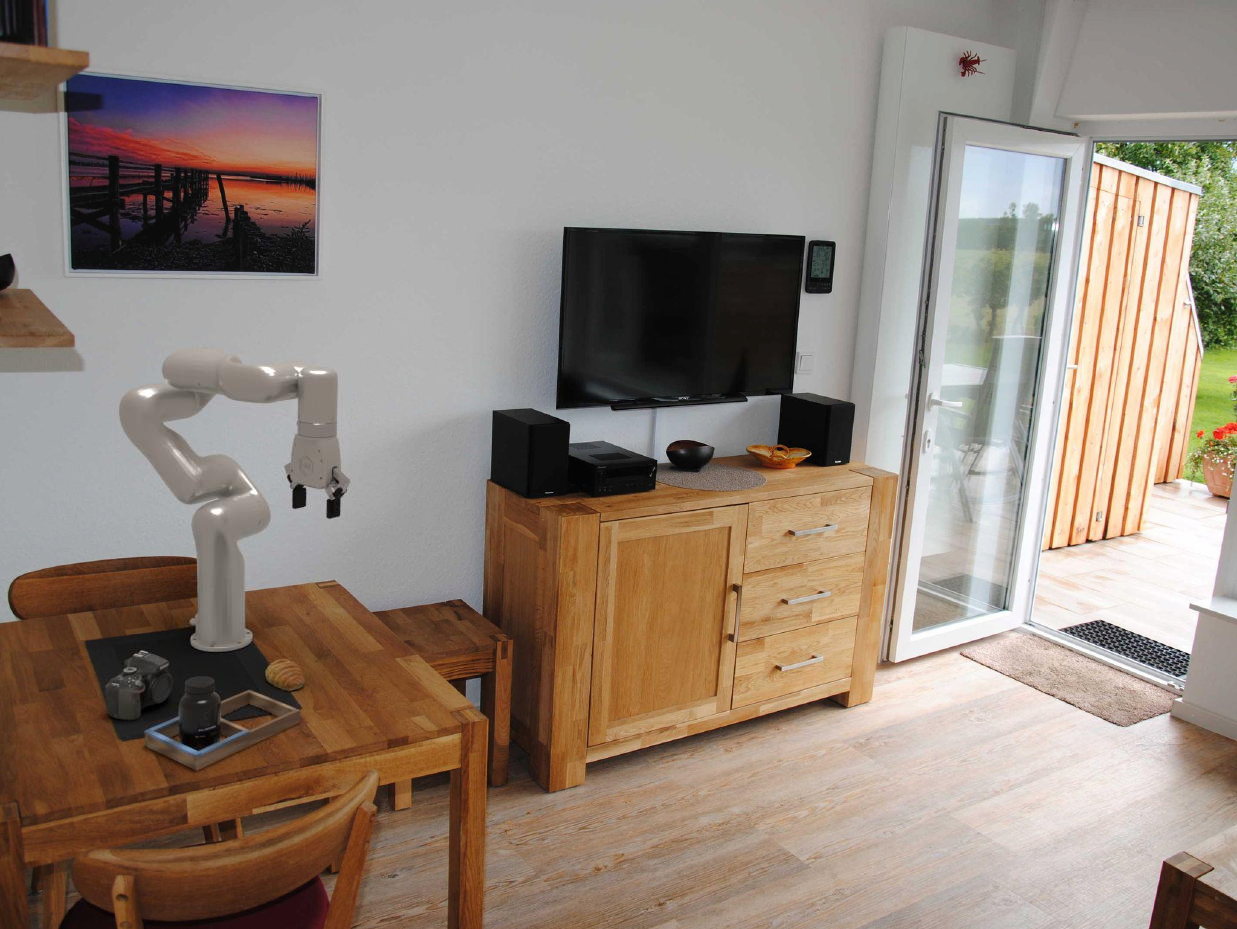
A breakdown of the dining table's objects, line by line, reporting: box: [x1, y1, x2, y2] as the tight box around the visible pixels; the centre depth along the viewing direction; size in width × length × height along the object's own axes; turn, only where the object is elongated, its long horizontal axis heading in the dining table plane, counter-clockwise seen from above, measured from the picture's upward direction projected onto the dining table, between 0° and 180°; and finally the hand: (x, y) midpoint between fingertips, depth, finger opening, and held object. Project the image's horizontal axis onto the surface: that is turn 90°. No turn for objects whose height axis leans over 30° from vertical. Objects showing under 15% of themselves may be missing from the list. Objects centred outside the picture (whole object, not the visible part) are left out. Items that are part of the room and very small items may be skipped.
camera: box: [103, 650, 174, 721], centre depth 194 cm, size 13×10×10 cm
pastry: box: [265, 658, 306, 692], centre depth 208 cm, size 9×7×4 cm
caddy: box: [143, 689, 301, 771], centre depth 186 cm, size 14×22×3 cm, turn 150°
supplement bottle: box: [178, 675, 222, 751], centre depth 181 cm, size 7×7×12 cm
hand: (316, 512), depth 210 cm, fingers open, 9 cm apart
